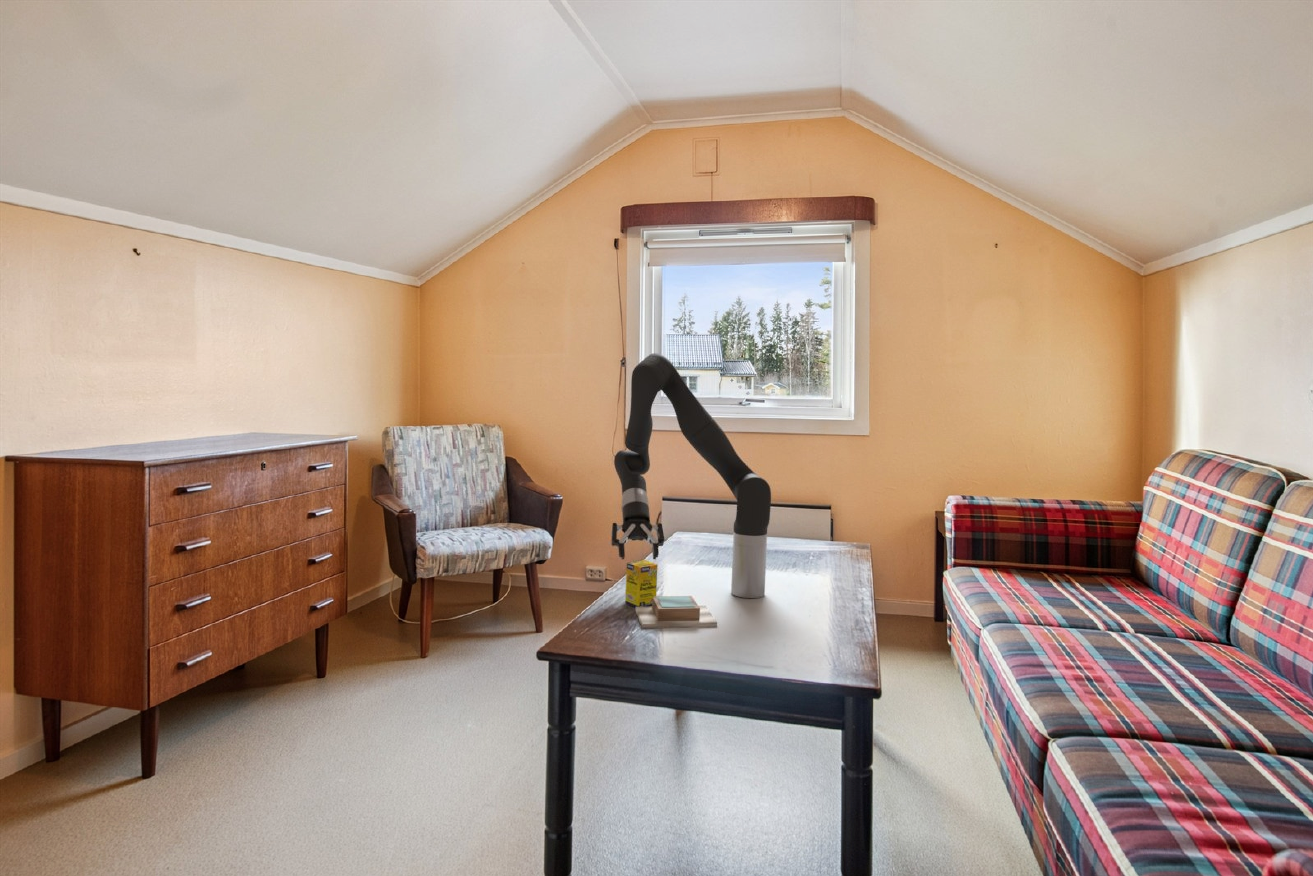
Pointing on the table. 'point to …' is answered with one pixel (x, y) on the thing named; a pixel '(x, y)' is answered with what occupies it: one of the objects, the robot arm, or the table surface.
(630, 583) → the supplement box
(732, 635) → the table surface
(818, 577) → the table surface
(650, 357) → the robot arm
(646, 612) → the board
